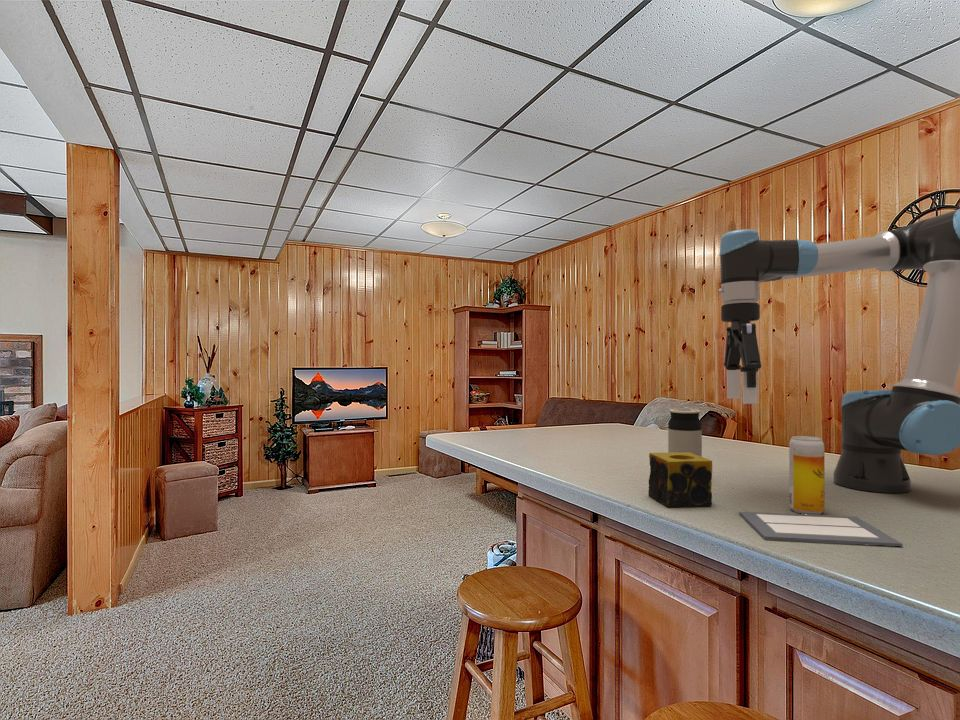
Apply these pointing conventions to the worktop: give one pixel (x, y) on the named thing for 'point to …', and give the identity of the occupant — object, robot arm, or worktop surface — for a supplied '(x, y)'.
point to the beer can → (807, 475)
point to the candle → (680, 479)
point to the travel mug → (685, 431)
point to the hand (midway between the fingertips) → (741, 401)
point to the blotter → (816, 529)
